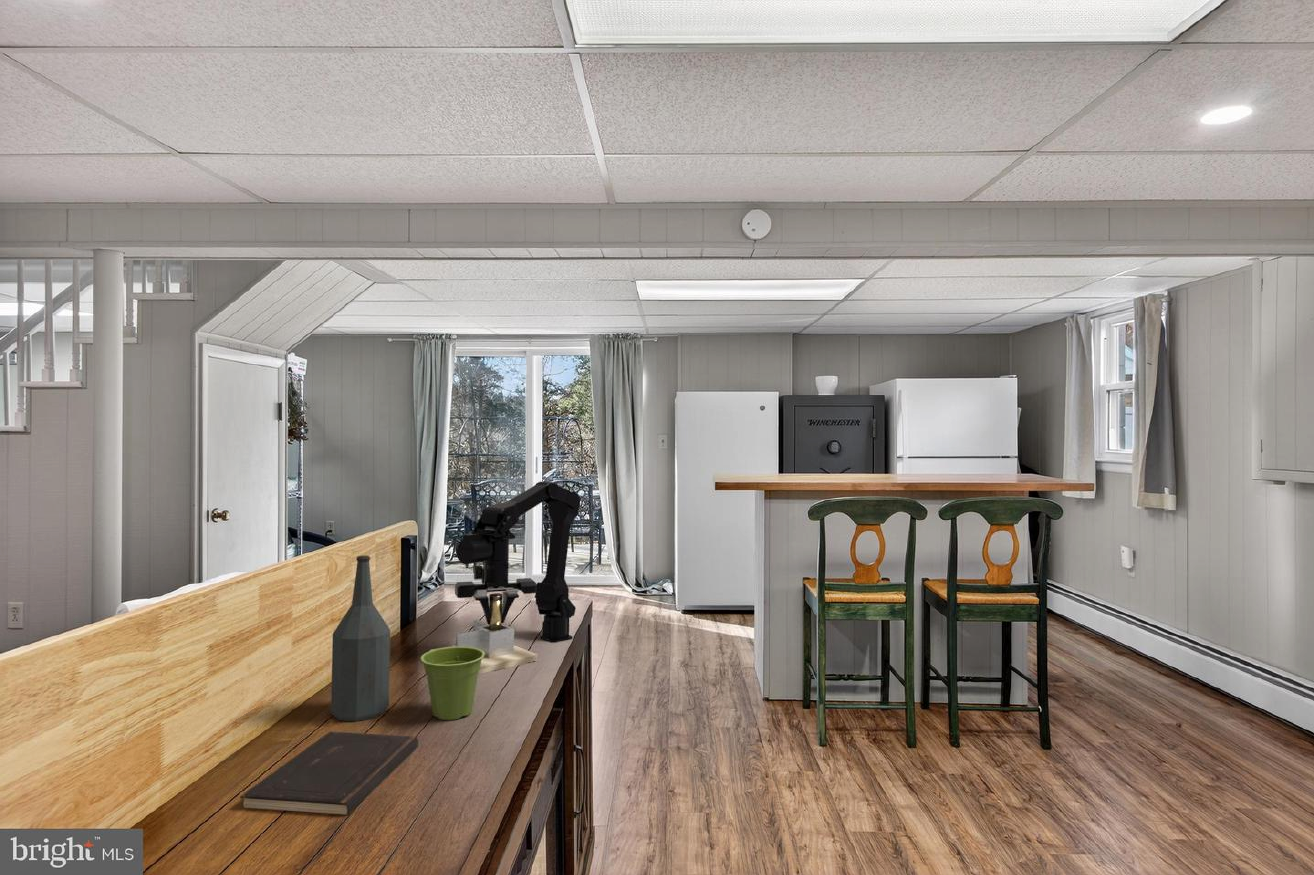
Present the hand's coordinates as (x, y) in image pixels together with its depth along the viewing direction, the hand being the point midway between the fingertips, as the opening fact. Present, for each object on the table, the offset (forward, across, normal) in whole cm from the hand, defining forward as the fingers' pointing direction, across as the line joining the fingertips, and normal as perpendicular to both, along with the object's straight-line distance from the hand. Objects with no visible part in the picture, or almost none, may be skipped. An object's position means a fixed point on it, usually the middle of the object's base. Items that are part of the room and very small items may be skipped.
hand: (495, 623), depth 173 cm
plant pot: (+9, +14, +33) cm, 37 cm away
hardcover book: (+9, +33, +52) cm, 63 cm away
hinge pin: (+3, 0, 0) cm, 3 cm away
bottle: (+9, +30, +26) cm, 41 cm away
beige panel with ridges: (+8, +3, -1) cm, 9 cm away
